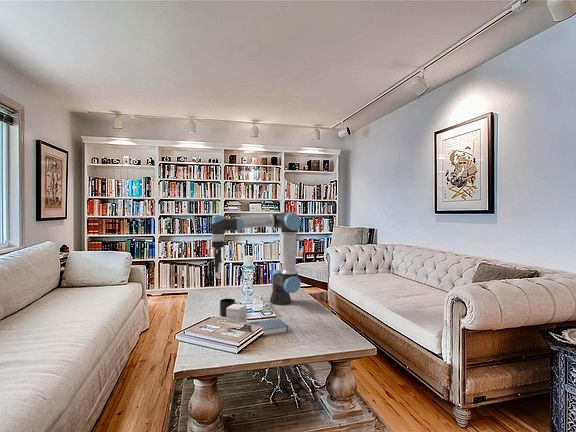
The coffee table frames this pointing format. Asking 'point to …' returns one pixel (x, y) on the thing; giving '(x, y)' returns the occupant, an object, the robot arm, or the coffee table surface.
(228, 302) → the mug
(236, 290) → the coffee table surface
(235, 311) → the ink box
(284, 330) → the book
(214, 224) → the robot arm
